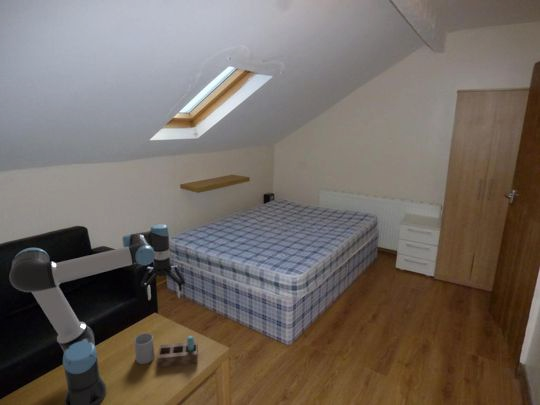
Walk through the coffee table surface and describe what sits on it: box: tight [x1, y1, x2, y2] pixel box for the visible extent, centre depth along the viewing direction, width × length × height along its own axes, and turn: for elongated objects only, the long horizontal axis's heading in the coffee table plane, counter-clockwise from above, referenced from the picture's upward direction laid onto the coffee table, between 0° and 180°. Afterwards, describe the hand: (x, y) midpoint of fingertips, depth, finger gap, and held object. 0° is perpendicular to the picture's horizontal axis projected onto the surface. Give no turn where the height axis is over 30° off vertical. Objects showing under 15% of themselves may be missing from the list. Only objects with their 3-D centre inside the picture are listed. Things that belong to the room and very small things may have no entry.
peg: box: [186, 335, 195, 352], centre depth 163 cm, size 3×3×11 cm
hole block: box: [157, 341, 199, 368], centre depth 162 cm, size 18×9×5 cm, turn 100°
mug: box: [133, 332, 155, 365], centre depth 163 cm, size 12×8×11 cm
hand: (164, 297), depth 162 cm, fingers open, 13 cm apart
